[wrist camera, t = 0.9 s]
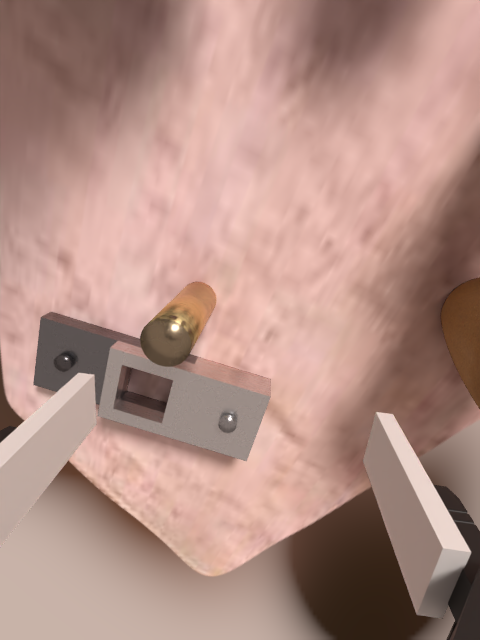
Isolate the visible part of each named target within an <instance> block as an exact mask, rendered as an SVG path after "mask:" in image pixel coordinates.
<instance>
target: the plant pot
mask: <svg viewBox="0 0 480 640" xmlns="http://www.w3.org/2000/svg"><path fill="white" fill-rule="evenodd" d="M441 324H442V329H443V333H444V337H445V340H446V344H447V347H448V349H449V352H450V355H451V357H452V359H453V362H454V364H455V366H456V368H457V370H458V372H459V374H460V376H461V378H462V380H463V382H464V384H465V386H466V387H467V389H468V391H469V393H470V394H471V396H472V398H473V399H474V401H475V402H476V404H477V406H478V407H479V409H480V277H479V278H476V279H472V280H469V281H467V282H465V283H463V284H461V285H460V286H458V287H457V288H456V289H454V290H453V291H452V292H451V293H450V295H449V296H448V297H447V299H446V301H445V302H444V305H443V307H442V311H441Z"/></svg>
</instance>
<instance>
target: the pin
mask: <svg viewBox="0 0 480 640" xmlns="http://www.w3.org/2000/svg"><path fill="white" fill-rule="evenodd" d="M215 305H216V295H215V293H214V291H213V289H212V288H211V287H210V286H209V285H207V284H205V283H202V282H193V283H190V284H189V285H187V286H186V287H185V288H184V289H183V290H182V291H181V292H180V293H179V294H178V295H177V296H176V297H175V298H174V299H173V300H172V301H171V302H170V303H168V304H167V305H166V306H165V307H164V308H163V309H162V310H161V311H160V312H159V313H158V314H157V315H156V316H155V317H154V318H153V319H152V320H151V321H150V322H149V323H148V324H147V325H146V326H145V327H144V329H143V330H142V333H141V337H140V344H141V348H142V350H143V352H144V354H145V355H146V357H147V358H148V359H149V360H151V361H152V362H153V363H155V364H157V365H160V366H165V367H172V366H176V365H179V364H181V363H182V362H183V361H185V360H186V358H187V357H188V355H189V354H190V352H191V350H192V348H193V346H194V344H195V343H196V341H197V339H198V337H199V335H200V333H201V332H202V330H203V328H204V326H205V324H206V322H207V321H208V319H209V317H210V315H211V313H212V311H213V310H214V308H215Z"/></svg>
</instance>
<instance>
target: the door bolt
mask: <svg viewBox="0 0 480 640" xmlns="http://www.w3.org/2000/svg"><path fill="white" fill-rule="evenodd" d="M131 368H134V369H137V370H140V371H144V372H147V373H150V374H154V375H157V376H160V377H163V378H167V379H170V380H173V383H172V387H171V390H170V394H169V398H168V402H167V403H165V402H161V401H158V400H155V399H151V398H148V397H145V396H142V395H138V394H135V393H132V392H128V391H127V387H128V383H129V378H130V373H131ZM78 373H85V374H93V375H94V376H95V401H96V404H99V410H98V416H99V417H102V418H106V419H109V420H112V421H116V422H119V423H122V424H126V425H129V426H132V427H135V428H139V429H142V430H145V431H149V432H152V433H155V434H158V435H162V436H165V437H168V438H172V439H175V440H178V441H182V442H185V443H188V444H191V445H195V446H198V447H201V448H205V449H208V450H211V451H214V452H218V453H221V454H224V455H228V456H231V457H234V458H237V459H241V460H244V461H247V458H248V456H249V453H250V450H251V448H252V445H253V442H254V440H255V437H256V434H257V432H258V429H259V426H260V424H261V421H262V418H263V416H264V413H265V410H266V408H267V405H268V402H269V400H270V397H271V379H269V378H265V377H262V376H259V375H256V374H252V373H249V372H246V371H242V370H239V369H236V368H233V367H229V366H226V365H223V364H220V363H216V362H213V361H210V360H207V359H203V358H200V357H197V356H194V355H190V354H189V355H188V357H187V358H186V360H185V361H183V362H182V363H181V364H179V365H176V366H172V367H165V366H160V365H157V364H155V363H153V362H152V361H151V360H149V359H148V358H147V357H146V355H145V354H144V352H143V350H142V348H141V344H140V339H138V338H135V337H132V336H128V335H125V334H122V333H119V332H115V331H112V330H109V329H106V328H102V327H99V326H96V325H93V324H89V323H86V322H83V321H80V320H76V319H73V318H70V317H67V316H63V315H60V314H57V313H53V312H50V313H48V314H46V315H44V316H42V317H41V320H40V330H39V339H38V348H37V357H36V366H35V375H34V384H33V385H36V386H39V387H43V388H46V389H49V390H52V391H56V392H58V391H59V390H60V389H61V388H62V387H63V386H64V385H65V384H67V383H68V382H69V381H70V380H71V379H72V378H73V377H74V376H75V375H77V374H78Z"/></svg>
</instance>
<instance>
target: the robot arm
mask: <svg viewBox="0 0 480 640" xmlns="http://www.w3.org/2000/svg"><path fill="white" fill-rule="evenodd" d="M95 425H96V401H95V376H94V375H93V374H85V373H78V374H77V375H75V376H74V377H73V378H72V379H71V380H70V381H69V382H68V383H67V384H65V385H64V386H63V387H62V388H61V389H60V390H59V391H58V392H57V393H55V394H54V395H53V396H52V397H51V398H50V399H49V400H48V401H46V402H45V403H44V404H43V405H42V406H41V407H40V408H39V409H38V410H36V411H35V412H34V413H33V414H32V415H31V416H30V417H29V418H28V419H26V420H25V421H24V422H23V423H22V424H21V425H20V426H19V427H11V426H9V427H7V428H5V429H3V430H1V431H0V547H1V546H2V545H3V543H4V542H5V541H6V539H7V538H8V537H9V536H10V534H11V533H12V532H13V530H14V529H15V528H16V526H17V525H18V524H19V522H20V521H21V520H22V519H23V518H24V516H25V515H26V514H27V512H28V511H29V510H30V509H31V507H32V506H33V505H34V503H35V502H36V501H37V500H38V498H39V497H40V496H41V494H42V493H43V492H44V491H45V489H46V488H47V487H48V486H49V484H50V483H51V482H52V480H53V479H54V478H55V477H56V475H57V474H58V473H59V471H60V470H61V469H62V468H63V466H64V465H65V464H66V462H67V461H68V460H69V459H70V457H71V456H72V455H73V453H74V452H75V451H76V450H77V448H78V447H79V446H80V445H81V443H82V442H83V441H84V439H85V438H86V437H87V436H88V434H89V433H90V432H91V430H92V429H93V428H94V427H95ZM363 463H364V466H365V469H366V471H367V474H368V477H369V480H370V483H371V486H372V489H373V491H374V494H375V497H376V500H377V502H378V506H379V508H380V511H381V514H382V517H383V520H384V522H385V526H386V528H387V531H388V534H389V537H390V540H391V543H392V545H393V548H394V551H395V554H396V557H397V560H398V562H399V565H400V568H401V571H402V574H403V577H404V579H405V583H406V585H407V588H408V591H409V594H410V597H411V600H412V603H413V605H414V608H415V611H416V614H417V615H422V616H429V617H435V618H443V616H444V614H445V612H446V610H447V607H448V605H449V607H450V609H451V612H452V614H453V616H454V618H455V622H454V624H453V626H452V629H451V631H450V633H449V635H448V637H447V640H480V531H479V530H478V528H477V526H476V525H474V522H473V520H472V518H471V517H470V515H469V514H467V510H466V509H465V507H464V506H463V504H462V503H461V501H460V499H459V498H458V497H457V496H456V495H455V494H454V493H453V492H451V491H450V490H449V489H448V488H447V487H444V486H437V485H433V484H432V482H431V480H430V479H429V477H428V475H427V473H426V472H425V470H424V468H423V466H422V465H421V463H420V461H419V459H418V457H417V456H416V454H415V452H414V450H413V449H412V447H411V445H410V443H409V442H408V440H407V438H406V436H405V435H404V433H403V431H402V429H401V427H400V426H399V424H398V422H397V420H396V419H395V417H394V415H393V414H388V413H380V412H376V413H375V417H374V421H373V425H372V428H371V432H370V436H369V440H368V443H367V447H366V451H365V455H364V459H363Z"/></svg>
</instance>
